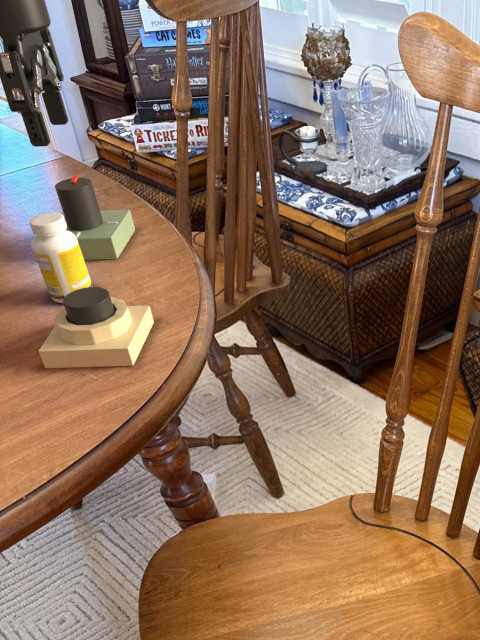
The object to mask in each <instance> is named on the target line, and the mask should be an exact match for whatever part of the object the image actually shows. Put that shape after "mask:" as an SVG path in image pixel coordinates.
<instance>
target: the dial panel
mask: <svg viewBox="0 0 480 640" xmlns="http://www.w3.org/2000/svg"><path fill="white" fill-rule="evenodd" d="M100 212H101V216H102V219H103V223H102V224H101V225H100V226H98V227H96V228H93V229H89V230H83V231H76V230H71V229H69V228H68V225H67V222H66V219H65V216H64V213H63V211H62V212H60V214H62V215H63V217H64V220H65V222H66V226H67V228H66V230H67V231H70V232H72V233H73V234H74V235H75V236H76V238H77V240H78V243H79V246H80V249H81V252H82V255H83V258H84V261H92V260H93V261H97V260H118V259H119V257H120V255H121V254H122V252H123V251H124V249H125V247H126V246H127V244H128V243H129V241H130V239H131V238H132V237H133V235H134V233H135V232H136V227H135V224H134V220H133V215H132V212H131V209H109V210H106V209H105V210H100Z"/></svg>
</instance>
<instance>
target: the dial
mask: <svg viewBox="0 0 480 640" xmlns="http://www.w3.org/2000/svg"><path fill="white" fill-rule="evenodd" d="M54 189H55V192H56V195H57V198H58V200H59V204H60V207H61V210H62V212H63V213H64V216H65V219H66V222H67V225H68V228H69V229H71V230H76V231H83V230H89V229H93V228H96V227H98V226H100V225H101V224H102V223H103V219H102V216H101V212H100V211H101V209H100V206H99V203H98V199H97V196H96V192H95V188H94V186H93V182H92V180H91V179H90V178H87V177H79V175H77V174H76V175H73V176H72V177H71V178H66V179H63V180H61V181H58V182H57V183H56V184H54Z"/></svg>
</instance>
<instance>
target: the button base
mask: <svg viewBox="0 0 480 640" xmlns="http://www.w3.org/2000/svg"><path fill="white" fill-rule="evenodd" d="M110 298H111V301H112V304H113V308H114V311H115V314H114V316H112V317H110V318H109V319H107V320H105V321H103V322H100V323H96V324H92V325H75V324H72V323H71V322H70V321H69V318H68V315H67V312H66V309H65V307H64V306H63V307H62V308H60V309H59V311H58V312H57V314H56V315H55V316H54V318H53V320H54V323H55V326H54V327H53V329H52V330H51V331H50V333H49V335H48V336H47V338H46V339H45V341H44V342H43V343H42V345H41V347H40V348H39V349H38V354H39V356H40V359H41V362H42V364H43V367H44V369H68V368H69V369H70V368H102V367H105V368H106V367H133V366H134V365H135V363H136V361H137V359H138V357H139V355H140V353H141V351H142V348H143V346H144V345H145V342H146V340H147V338H148V336H149V333H150V331H151V330H152V327H153V325H154V323H155V321H154V316H153V313H152V309H151V307H150V305H127V303H126V302H125V301H124V300H123V299H119V298H117V297H113V296H110Z"/></svg>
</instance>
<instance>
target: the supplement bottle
mask: <svg viewBox="0 0 480 640" xmlns="http://www.w3.org/2000/svg"><path fill="white" fill-rule="evenodd" d="M28 223H29V226H30V230H31V231H32V234H33V235H34V236H35V237H34V238H33V239H32V241H31V248H32V252H33V254H34V257H35V259H36V263H37V265H38V268H39V270H40V274H41V275H42V278H43V281H44V283H45V286H46V290H47V292H48V295H49V296H50V298H51V300H52V301H53V302H55V303H58V304H63V299H64V297H65V296H66V295H68V294H69V293H71V292H73V291H75V290H78V289H82V288H87V287H94V286H93V282H92V280H91V276H90V273H89V270H88V268H87V265H86V262H85V261H86V260H84V258H83V255H82V252H81V249H80V246H79V243H78V240H77V238H76V236H75V235H74V234H73V233H72V232H70V231H67V230H66V228H67V226H66V222H65V220H64V217H63V215H62V214H61V212H60V213H59V212H45V213H41V214H38V215H35V216H32V217H31V218H30V219H29V221H28Z"/></svg>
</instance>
